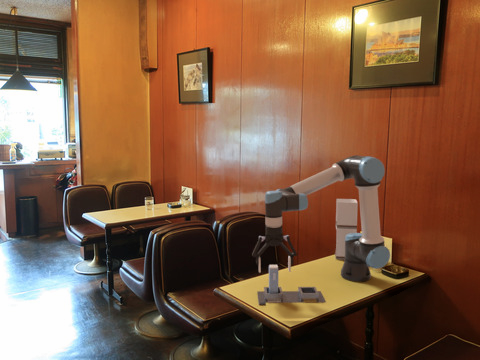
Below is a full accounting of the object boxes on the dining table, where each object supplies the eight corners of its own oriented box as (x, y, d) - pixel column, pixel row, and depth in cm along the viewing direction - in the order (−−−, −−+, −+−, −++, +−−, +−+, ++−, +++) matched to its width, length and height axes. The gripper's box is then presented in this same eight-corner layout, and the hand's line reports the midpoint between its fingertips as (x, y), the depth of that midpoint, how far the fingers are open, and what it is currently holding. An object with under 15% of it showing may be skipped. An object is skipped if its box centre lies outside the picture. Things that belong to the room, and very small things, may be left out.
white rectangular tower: (353, 255, 239) (355, 199, 235) (355, 260, 229) (357, 202, 224) (334, 254, 241) (336, 198, 237) (335, 259, 231) (337, 201, 227)
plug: (277, 294, 179) (277, 264, 177) (278, 300, 173) (278, 268, 172) (268, 294, 179) (268, 264, 177) (269, 300, 173) (269, 269, 172)
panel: (320, 293, 183) (320, 285, 183) (326, 304, 171) (326, 295, 171) (257, 293, 183) (257, 285, 183) (258, 304, 171) (258, 296, 171)
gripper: (300, 222, 177) (300, 267, 180) (245, 224, 177) (247, 268, 179) (303, 226, 169) (303, 273, 172) (246, 228, 169) (247, 274, 172)
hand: (274, 271), depth 176 cm, fingers open, 13 cm apart
